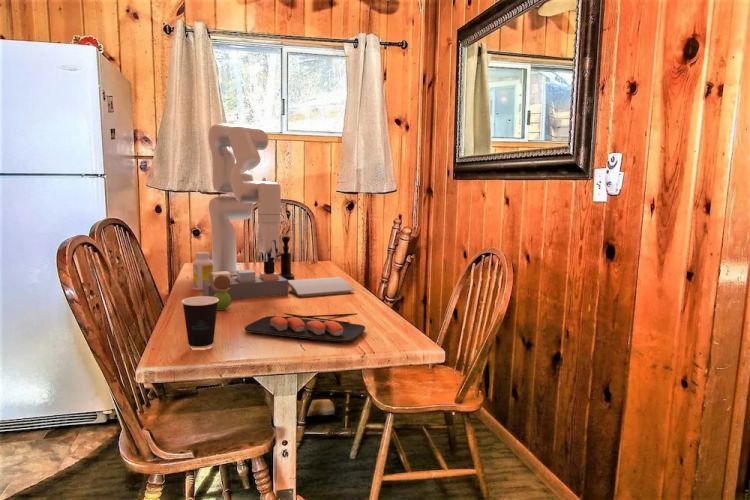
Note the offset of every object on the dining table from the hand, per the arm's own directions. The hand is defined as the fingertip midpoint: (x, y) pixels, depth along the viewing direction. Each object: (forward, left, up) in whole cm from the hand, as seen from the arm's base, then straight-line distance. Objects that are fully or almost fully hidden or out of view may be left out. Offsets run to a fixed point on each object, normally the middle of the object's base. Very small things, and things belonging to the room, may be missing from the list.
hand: (269, 272), depth 172 cm
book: (+3, +17, -8) cm, 19 cm away
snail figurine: (+17, -20, -7) cm, 27 cm away
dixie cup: (+50, -31, -7) cm, 59 cm away
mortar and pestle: (-18, +12, -7) cm, 23 cm away
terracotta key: (0, 0, -4) cm, 4 cm away
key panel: (0, -8, -7) cm, 11 cm away
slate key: (0, -8, -3) cm, 9 cm away
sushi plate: (+43, 0, -8) cm, 44 cm away
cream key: (0, -16, -3) cm, 16 cm away
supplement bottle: (-15, -19, -7) cm, 25 cm away
